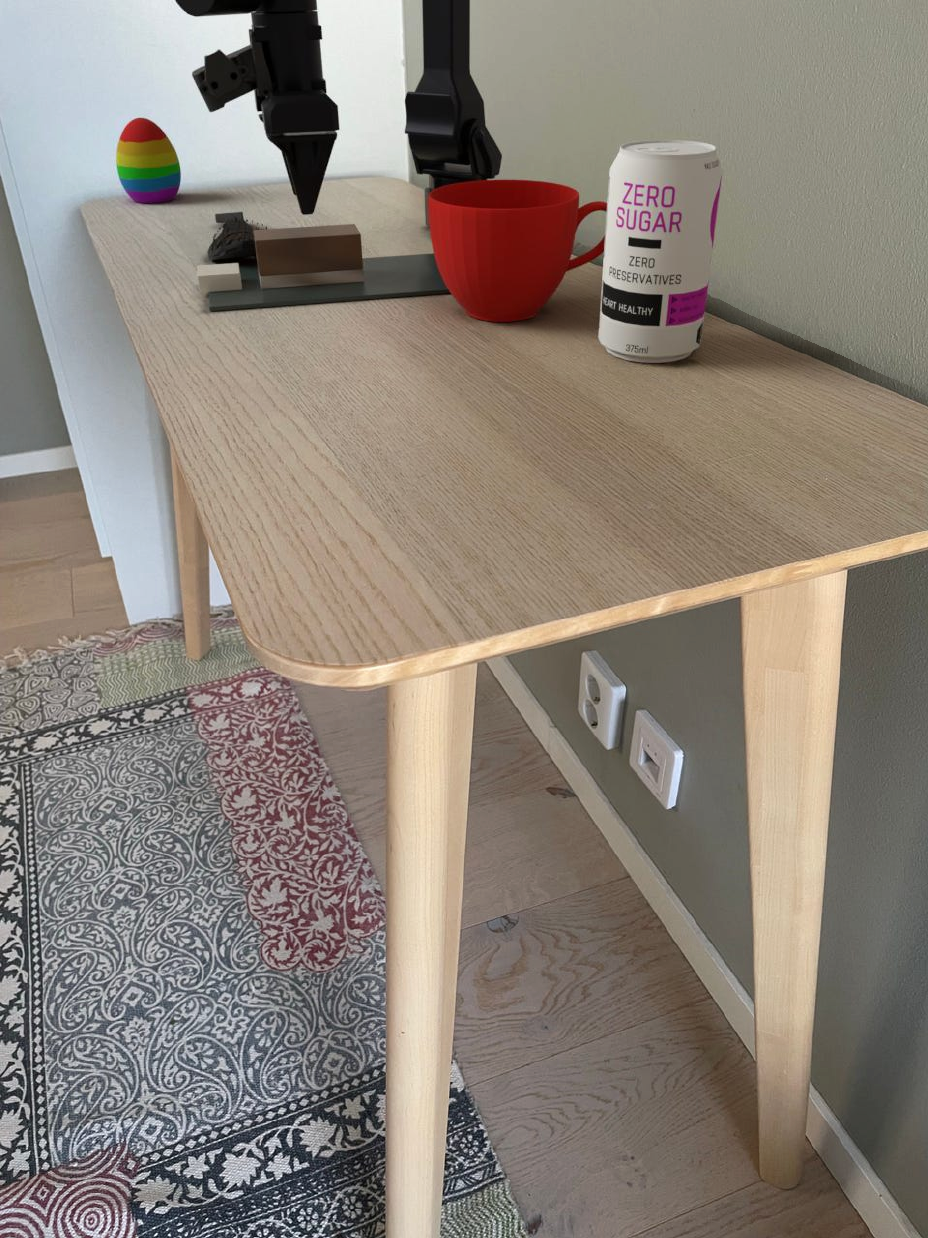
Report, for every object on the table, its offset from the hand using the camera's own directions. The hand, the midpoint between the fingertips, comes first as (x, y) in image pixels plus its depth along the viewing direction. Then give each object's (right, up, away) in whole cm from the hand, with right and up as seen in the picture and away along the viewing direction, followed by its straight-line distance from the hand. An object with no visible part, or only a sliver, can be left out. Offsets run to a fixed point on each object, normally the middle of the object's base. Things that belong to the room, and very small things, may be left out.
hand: (303, 204), depth 93 cm
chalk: (-8, -7, +2) cm, 11 cm away
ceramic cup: (+21, -12, -4) cm, 24 cm away
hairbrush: (-10, +3, +18) cm, 21 cm away
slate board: (+2, -6, +5) cm, 8 cm away
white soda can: (+30, -18, -13) cm, 38 cm away
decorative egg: (-27, +18, +40) cm, 51 cm away
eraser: (0, -6, +4) cm, 7 cm away
